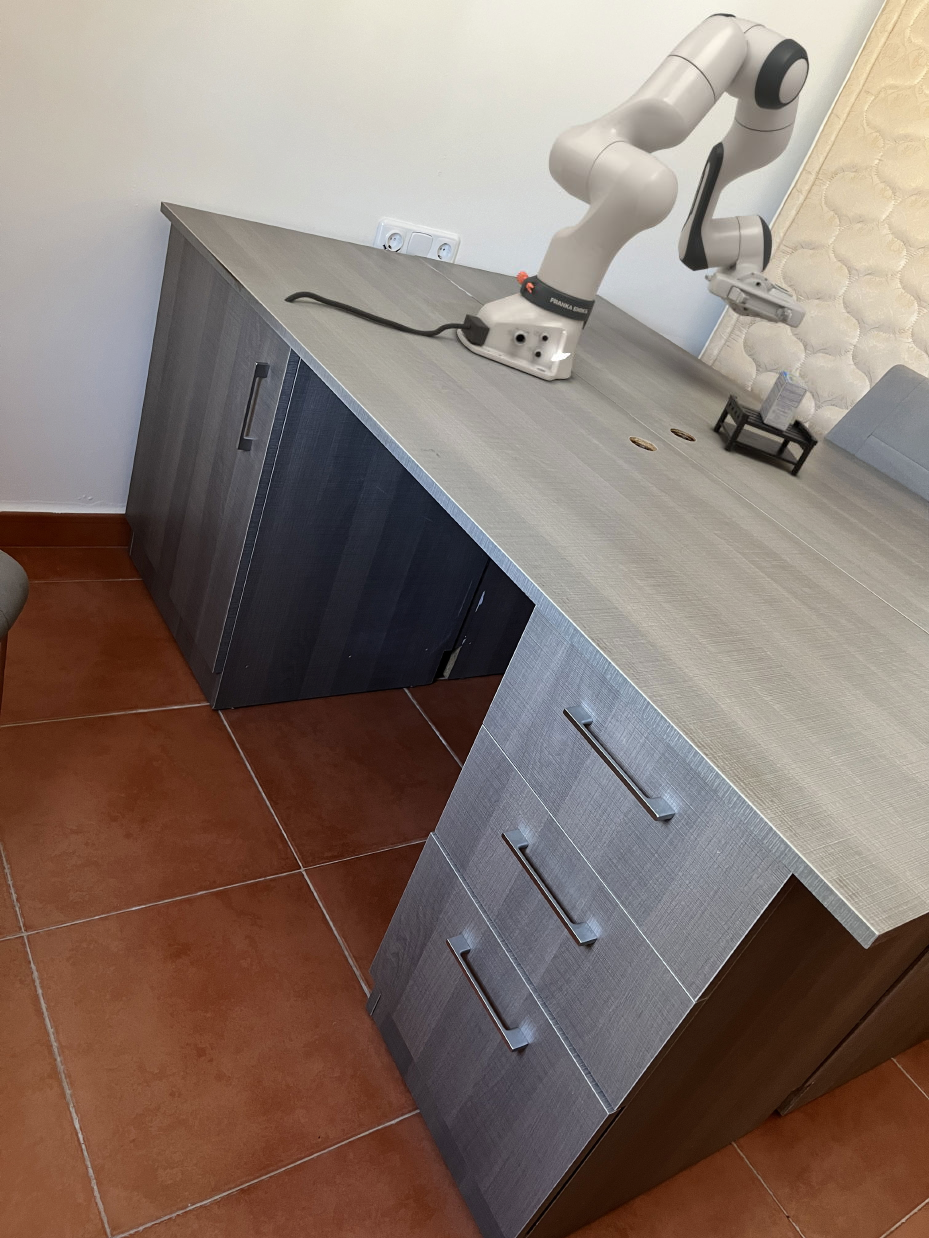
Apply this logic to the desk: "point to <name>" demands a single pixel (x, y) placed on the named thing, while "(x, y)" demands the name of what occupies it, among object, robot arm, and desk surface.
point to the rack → (761, 443)
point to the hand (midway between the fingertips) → (765, 309)
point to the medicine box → (783, 400)
